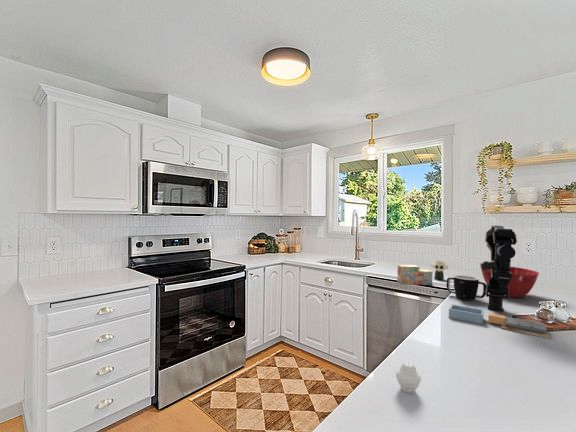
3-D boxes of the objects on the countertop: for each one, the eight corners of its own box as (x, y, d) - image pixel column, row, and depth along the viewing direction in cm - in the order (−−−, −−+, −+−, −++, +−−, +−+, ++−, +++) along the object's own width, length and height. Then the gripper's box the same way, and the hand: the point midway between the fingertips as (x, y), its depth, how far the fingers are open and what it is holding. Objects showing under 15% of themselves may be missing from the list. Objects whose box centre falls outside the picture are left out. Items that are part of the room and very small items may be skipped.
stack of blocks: (427, 283, 205) (428, 265, 205) (432, 285, 199) (432, 267, 199) (397, 282, 205) (397, 264, 205) (400, 284, 199) (401, 266, 199)
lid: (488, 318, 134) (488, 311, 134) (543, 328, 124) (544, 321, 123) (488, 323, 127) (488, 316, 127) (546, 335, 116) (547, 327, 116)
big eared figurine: (430, 279, 218) (430, 261, 218) (431, 277, 224) (431, 260, 224) (447, 281, 213) (447, 263, 212) (447, 279, 219) (448, 261, 218)
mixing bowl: (552, 302, 165) (553, 274, 165) (499, 300, 165) (500, 273, 165) (514, 289, 193) (515, 265, 193) (469, 288, 194) (470, 264, 193)
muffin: (414, 383, 82) (414, 357, 82) (425, 396, 76) (425, 369, 76) (391, 382, 82) (392, 357, 81) (400, 396, 75) (401, 369, 75)
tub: (451, 312, 143) (451, 304, 143) (483, 318, 135) (483, 309, 135) (448, 317, 136) (448, 308, 135) (482, 324, 128) (483, 315, 128)
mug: (473, 295, 176) (473, 275, 175) (488, 303, 160) (489, 281, 160) (444, 293, 177) (444, 273, 177) (456, 301, 161) (457, 279, 161)
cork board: (500, 321, 133) (501, 319, 133) (545, 329, 124) (545, 328, 124) (501, 328, 124) (501, 327, 124) (549, 338, 115) (549, 336, 115)
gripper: (482, 252, 147) (481, 284, 148) (480, 256, 132) (479, 291, 132) (510, 254, 141) (509, 287, 141) (512, 259, 126) (511, 296, 126)
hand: (501, 290), depth 135 cm, fingers open, 9 cm apart
